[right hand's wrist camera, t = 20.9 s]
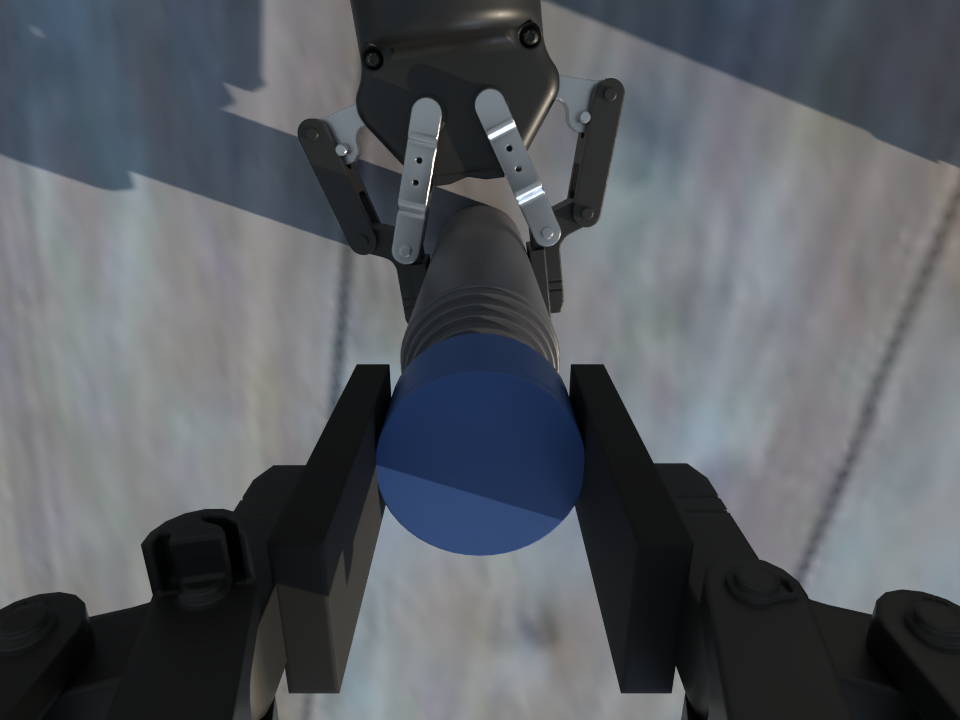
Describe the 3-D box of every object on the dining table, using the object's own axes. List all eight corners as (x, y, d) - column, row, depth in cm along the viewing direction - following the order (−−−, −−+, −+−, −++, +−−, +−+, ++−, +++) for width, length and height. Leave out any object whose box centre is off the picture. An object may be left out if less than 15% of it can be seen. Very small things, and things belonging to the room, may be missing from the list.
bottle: (472, 304, 36) (461, 576, 14) (421, 239, 34) (324, 434, 13) (538, 255, 35) (632, 469, 13) (487, 187, 33) (502, 303, 12)
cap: (366, 356, 14) (345, 399, 12) (550, 312, 14) (563, 348, 12) (418, 510, 16) (408, 574, 13) (585, 474, 15) (603, 533, 13)
